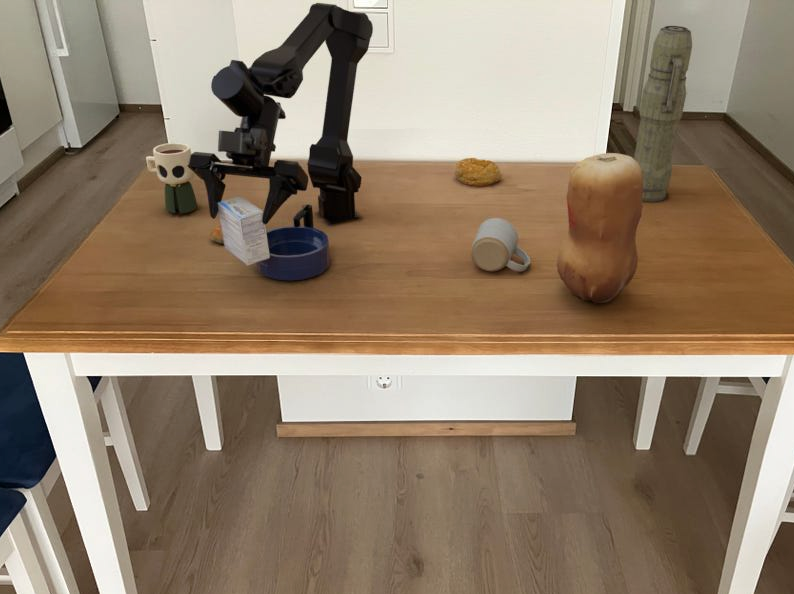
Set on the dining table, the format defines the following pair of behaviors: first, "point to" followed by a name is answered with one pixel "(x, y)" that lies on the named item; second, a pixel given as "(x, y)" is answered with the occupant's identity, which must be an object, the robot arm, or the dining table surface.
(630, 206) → the butternut squash
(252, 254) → the medicine box
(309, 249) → the basin
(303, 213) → the tap
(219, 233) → the pastry
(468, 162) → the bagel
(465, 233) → the dining table surface
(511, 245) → the ceramic mug
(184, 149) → the character mug
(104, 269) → the dining table surface
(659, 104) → the thermos
